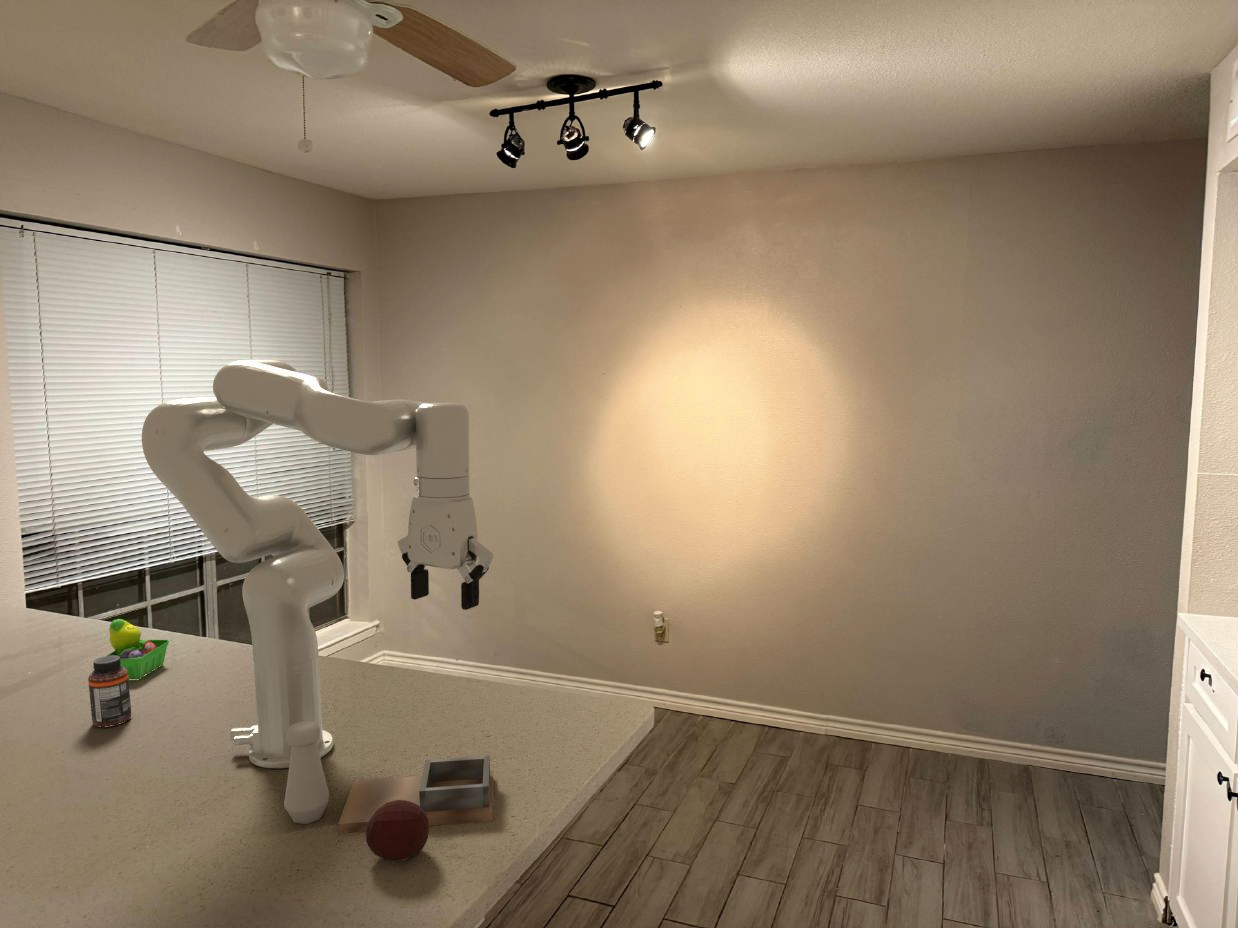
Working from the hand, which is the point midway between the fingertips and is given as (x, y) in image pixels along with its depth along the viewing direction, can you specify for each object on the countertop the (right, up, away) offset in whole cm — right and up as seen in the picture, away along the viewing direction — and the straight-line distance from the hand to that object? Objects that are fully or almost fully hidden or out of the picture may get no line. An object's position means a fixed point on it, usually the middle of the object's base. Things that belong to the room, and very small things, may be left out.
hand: (444, 602), depth 127 cm
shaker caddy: (-2, -27, -7) cm, 28 cm away
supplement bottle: (-62, -25, +22) cm, 71 cm away
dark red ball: (-2, -29, -19) cm, 35 cm away
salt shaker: (-17, -28, -10) cm, 34 cm away
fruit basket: (-72, -22, +46) cm, 88 cm away
